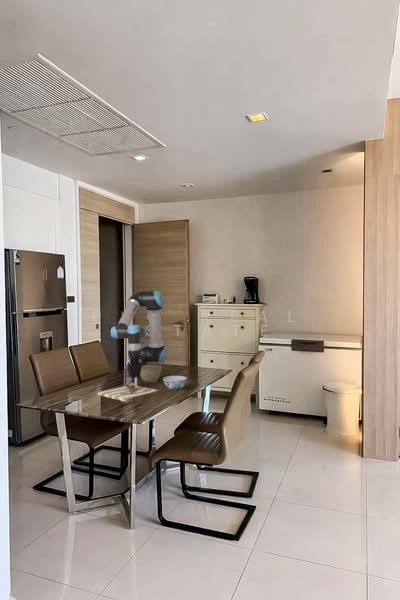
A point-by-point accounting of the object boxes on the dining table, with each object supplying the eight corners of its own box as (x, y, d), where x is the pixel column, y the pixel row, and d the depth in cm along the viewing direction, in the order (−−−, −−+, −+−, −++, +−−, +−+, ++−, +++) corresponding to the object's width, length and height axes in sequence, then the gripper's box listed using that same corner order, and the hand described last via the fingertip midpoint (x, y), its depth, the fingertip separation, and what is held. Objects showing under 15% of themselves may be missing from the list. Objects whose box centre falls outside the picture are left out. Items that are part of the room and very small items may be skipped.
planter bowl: (166, 380, 291) (165, 365, 291) (154, 385, 276) (153, 369, 276) (146, 379, 297) (146, 364, 297) (134, 383, 283) (133, 367, 283)
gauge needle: (125, 385, 268) (125, 376, 267) (133, 385, 269) (133, 376, 269) (127, 392, 249) (127, 383, 249) (135, 391, 250) (135, 382, 250)
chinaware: (160, 392, 256) (160, 380, 256) (166, 387, 271) (165, 375, 271) (184, 393, 254) (184, 380, 254) (188, 387, 269) (188, 376, 269)
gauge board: (96, 394, 252) (96, 392, 252) (130, 386, 273) (130, 384, 273) (126, 401, 235) (125, 398, 235) (159, 392, 256) (159, 390, 256)
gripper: (130, 351, 248) (131, 390, 249) (146, 349, 258) (146, 386, 259) (122, 350, 253) (122, 388, 253) (137, 348, 263) (138, 384, 263)
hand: (134, 387), depth 256 cm, fingers closed
